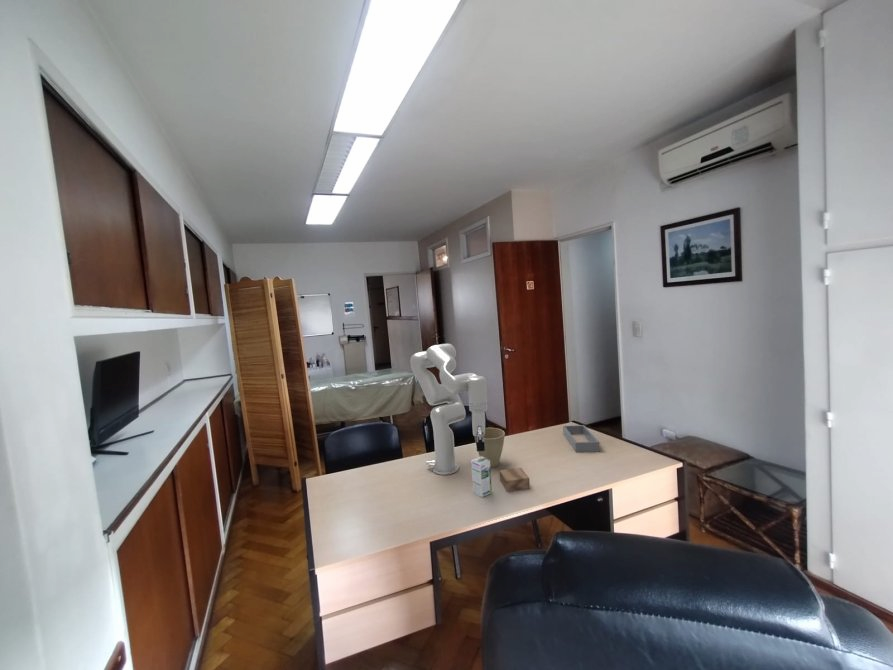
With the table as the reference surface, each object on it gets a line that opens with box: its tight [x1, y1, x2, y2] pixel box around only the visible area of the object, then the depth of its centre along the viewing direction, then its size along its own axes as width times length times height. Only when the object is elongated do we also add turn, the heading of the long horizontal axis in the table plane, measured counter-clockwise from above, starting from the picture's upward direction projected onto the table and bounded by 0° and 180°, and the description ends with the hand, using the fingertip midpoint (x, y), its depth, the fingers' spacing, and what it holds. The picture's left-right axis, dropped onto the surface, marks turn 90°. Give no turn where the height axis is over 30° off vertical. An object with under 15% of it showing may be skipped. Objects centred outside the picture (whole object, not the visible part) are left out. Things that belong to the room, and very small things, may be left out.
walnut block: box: [499, 467, 531, 493], centre depth 165 cm, size 10×10×5 cm
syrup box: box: [470, 456, 493, 498], centre depth 159 cm, size 6×6×14 cm
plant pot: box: [473, 427, 506, 468], centre depth 185 cm, size 15×15×16 cm
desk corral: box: [562, 424, 601, 453], centre depth 206 cm, size 12×26×5 cm, turn 176°
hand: (480, 446), depth 158 cm, fingers open, 9 cm apart
